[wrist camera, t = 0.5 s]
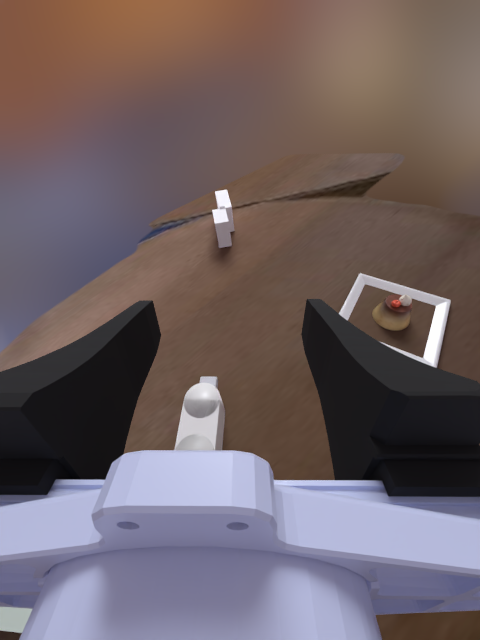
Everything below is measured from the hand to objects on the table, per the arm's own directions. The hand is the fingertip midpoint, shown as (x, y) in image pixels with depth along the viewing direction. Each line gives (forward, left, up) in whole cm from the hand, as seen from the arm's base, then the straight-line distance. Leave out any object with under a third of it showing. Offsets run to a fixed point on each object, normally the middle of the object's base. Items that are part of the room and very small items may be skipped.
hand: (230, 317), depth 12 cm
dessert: (+15, -18, -20) cm, 31 cm away
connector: (-1, +5, -19) cm, 20 cm away
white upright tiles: (+37, +7, -20) cm, 43 cm away
